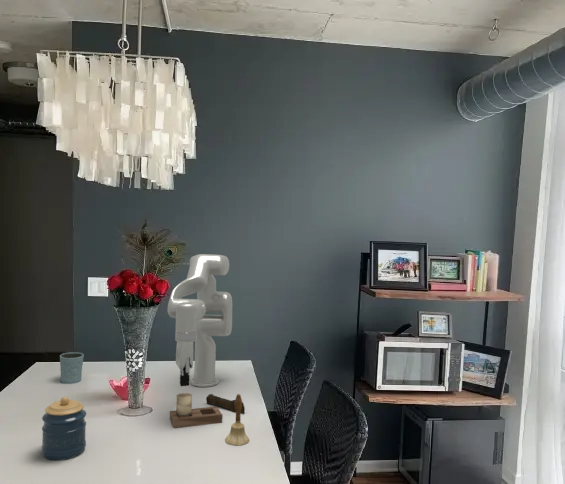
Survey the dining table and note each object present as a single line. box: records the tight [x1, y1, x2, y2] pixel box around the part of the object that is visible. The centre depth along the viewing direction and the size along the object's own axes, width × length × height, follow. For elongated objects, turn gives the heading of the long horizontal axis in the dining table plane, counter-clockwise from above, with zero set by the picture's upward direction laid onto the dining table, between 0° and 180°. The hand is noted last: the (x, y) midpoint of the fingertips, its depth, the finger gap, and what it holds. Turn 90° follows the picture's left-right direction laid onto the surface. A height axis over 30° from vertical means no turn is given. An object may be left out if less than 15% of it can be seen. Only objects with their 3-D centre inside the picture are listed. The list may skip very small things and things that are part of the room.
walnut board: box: [168, 405, 223, 429], centre depth 193 cm, size 9×18×3 cm, turn 111°
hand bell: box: [224, 393, 250, 446], centre depth 177 cm, size 8×8×16 cm
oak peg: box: [175, 392, 193, 417], centre depth 192 cm, size 6×6×10 cm
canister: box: [41, 396, 87, 461], centre depth 165 cm, size 13×13×18 cm
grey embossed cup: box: [59, 351, 85, 385], centre depth 235 cm, size 10×10×12 cm
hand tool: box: [205, 393, 246, 415], centre depth 207 cm, size 19×4×5 cm, turn 52°
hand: (184, 385), depth 191 cm, fingers closed
